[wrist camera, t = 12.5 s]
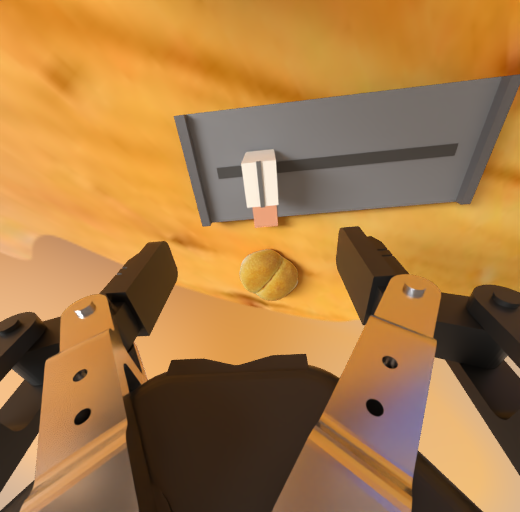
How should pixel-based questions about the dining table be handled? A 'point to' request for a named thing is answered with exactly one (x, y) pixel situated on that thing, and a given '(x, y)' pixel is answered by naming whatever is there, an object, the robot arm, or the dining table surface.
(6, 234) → the dining table surface
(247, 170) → the fader cap
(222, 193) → the fader board
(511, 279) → the dining table surface
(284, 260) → the bread roll
